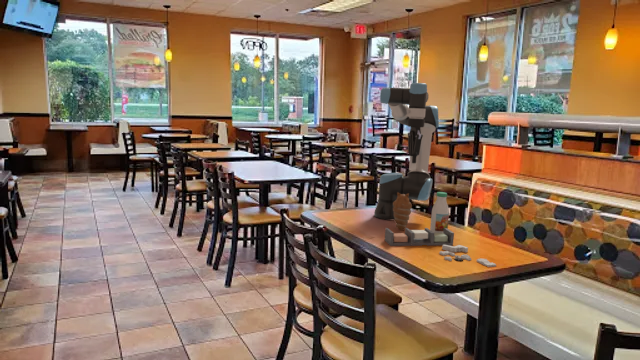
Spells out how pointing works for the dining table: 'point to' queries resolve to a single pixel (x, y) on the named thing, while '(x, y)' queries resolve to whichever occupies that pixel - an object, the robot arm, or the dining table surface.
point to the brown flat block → (400, 237)
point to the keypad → (418, 242)
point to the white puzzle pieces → (463, 249)
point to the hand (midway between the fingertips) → (412, 170)
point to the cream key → (420, 234)
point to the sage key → (440, 237)
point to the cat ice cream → (402, 210)
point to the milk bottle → (440, 214)
